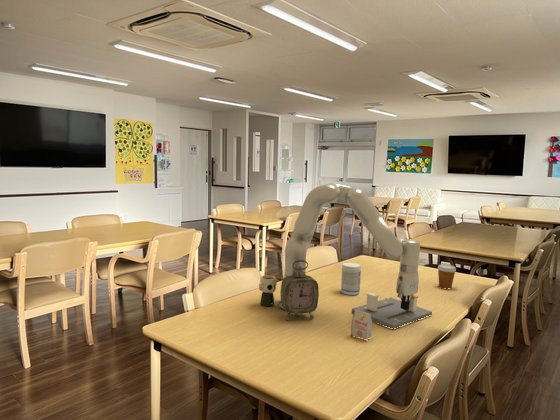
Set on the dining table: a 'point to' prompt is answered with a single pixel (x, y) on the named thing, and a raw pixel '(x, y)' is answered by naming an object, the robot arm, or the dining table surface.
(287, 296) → the tabletop clock
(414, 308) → the fader orange
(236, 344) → the dining table surface
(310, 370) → the dining table surface
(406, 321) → the panel
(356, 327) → the tea bag
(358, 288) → the supplement tub
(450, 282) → the disposable coffee cup
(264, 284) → the character mug
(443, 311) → the dining table surface
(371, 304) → the fader cream
